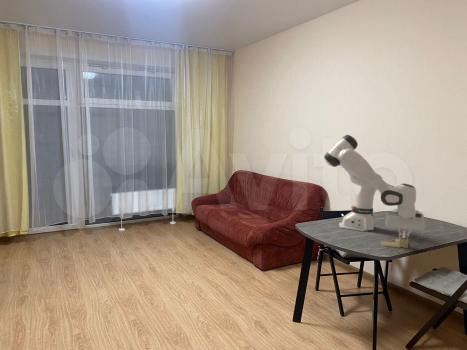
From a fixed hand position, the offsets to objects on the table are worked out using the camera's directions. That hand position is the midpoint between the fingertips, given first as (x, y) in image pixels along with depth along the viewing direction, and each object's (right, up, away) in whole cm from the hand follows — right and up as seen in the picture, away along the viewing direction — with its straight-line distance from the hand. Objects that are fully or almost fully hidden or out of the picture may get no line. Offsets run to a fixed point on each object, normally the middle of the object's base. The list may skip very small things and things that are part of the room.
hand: (403, 236), depth 197 cm
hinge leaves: (-3, -5, +6) cm, 8 cm away
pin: (0, -5, +1) cm, 5 cm away
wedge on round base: (+27, +2, +68) cm, 73 cm away
